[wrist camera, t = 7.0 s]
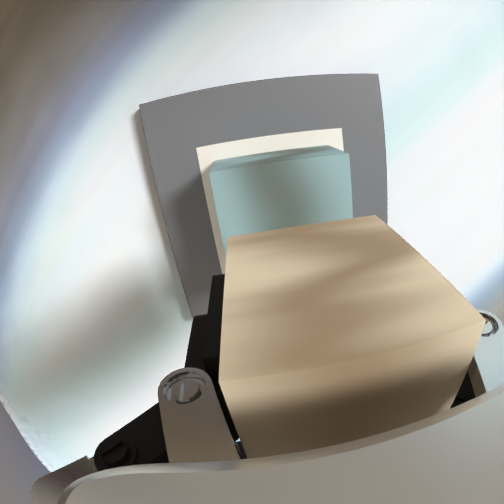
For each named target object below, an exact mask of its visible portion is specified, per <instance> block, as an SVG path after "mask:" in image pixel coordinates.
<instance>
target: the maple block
mask: <svg viewBox="0 0 504 504" xmlns="http://www.w3.org/2000/svg"><path fill="white" fill-rule="evenodd" d="M485 321H486V320H485V319H484V318H483V316H482V315H481V314H480V313H479V312H478V311H477V310H476V309H475V308H474V307H473V306H472V305H471V304H470V303H469V301H468V300H467V299H466V298H465V297H464V296H463V295H462V294H461V293H460V292H459V291H458V290H457V289H456V288H455V287H454V286H453V285H452V284H451V283H450V282H449V281H448V280H447V279H446V278H445V277H444V276H443V275H442V274H441V273H440V272H439V271H438V270H437V269H436V268H434V267H433V266H432V265H431V264H430V263H429V262H428V261H427V260H426V259H425V258H424V257H423V256H422V255H421V254H420V253H418V252H417V251H416V250H415V249H414V248H413V247H412V246H411V245H410V244H409V243H407V242H406V241H405V240H404V239H403V238H402V237H401V236H400V235H398V234H397V233H396V232H395V231H394V230H393V229H392V228H390V227H389V226H388V225H387V224H386V223H385V222H383V221H382V220H381V219H380V218H379V217H377V216H376V215H371V216H364V217H357V218H350V219H343V220H336V221H329V222H322V223H315V224H309V225H302V226H295V227H289V228H282V229H276V230H269V231H263V232H256V233H250V234H244V235H237V236H231V237H228V240H227V253H226V267H225V281H224V296H223V312H222V328H221V345H220V363H219V384H220V387H221V390H222V393H223V395H224V398H225V401H226V404H227V406H228V409H229V412H230V414H231V417H232V420H233V422H234V425H235V428H236V430H237V433H238V435H239V438H240V440H241V443H242V445H243V448H244V450H245V453H246V455H247V458H248V459H250V458H260V457H268V456H276V455H283V454H290V453H296V452H302V451H308V450H313V449H318V448H323V447H328V446H333V445H337V444H342V443H346V442H350V441H354V440H358V439H362V438H366V437H369V436H373V435H377V434H380V433H383V432H387V431H390V430H393V429H396V428H400V427H403V426H406V425H409V424H412V423H414V422H417V421H420V420H423V419H426V418H428V417H431V416H433V415H436V414H439V413H441V412H444V411H446V410H448V409H450V407H451V405H452V403H453V401H454V399H455V397H456V395H457V393H458V391H459V388H460V386H461V384H462V382H463V379H464V377H465V375H466V373H467V370H468V368H469V365H470V363H471V360H472V358H473V355H474V353H475V350H476V347H477V345H478V342H479V339H480V336H481V333H482V330H483V327H484V324H485Z"/></svg>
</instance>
